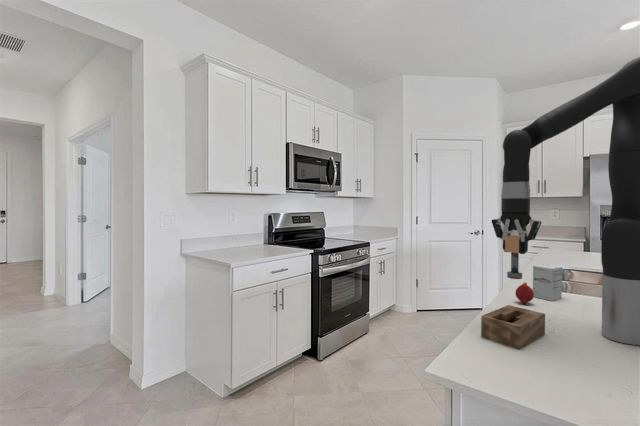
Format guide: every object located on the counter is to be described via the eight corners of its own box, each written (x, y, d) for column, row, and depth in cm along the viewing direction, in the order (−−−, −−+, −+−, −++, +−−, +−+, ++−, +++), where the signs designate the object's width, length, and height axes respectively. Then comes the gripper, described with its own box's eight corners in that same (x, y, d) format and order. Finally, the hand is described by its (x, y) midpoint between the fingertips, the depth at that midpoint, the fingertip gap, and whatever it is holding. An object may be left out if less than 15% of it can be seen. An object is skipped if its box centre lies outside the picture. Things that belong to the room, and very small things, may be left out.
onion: (532, 307, 118) (533, 285, 118) (514, 304, 121) (514, 282, 121) (534, 303, 122) (534, 281, 122) (516, 300, 126) (516, 279, 126)
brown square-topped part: (524, 277, 101) (525, 235, 100) (518, 279, 99) (519, 236, 98) (511, 275, 104) (511, 234, 104) (504, 277, 102) (505, 235, 101)
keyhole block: (544, 334, 94) (545, 313, 93) (519, 349, 84) (519, 326, 84) (508, 324, 102) (508, 305, 102) (481, 336, 92) (481, 315, 92)
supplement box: (531, 296, 130) (532, 265, 130) (542, 294, 134) (542, 263, 134) (552, 301, 124) (552, 268, 124) (562, 298, 127) (562, 266, 127)
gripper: (547, 196, 97) (546, 254, 97) (498, 197, 108) (497, 249, 109) (535, 196, 92) (534, 257, 93) (486, 197, 104) (485, 251, 105)
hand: (514, 252), depth 101 cm, fingers closed on brown square-topped part, 4 cm apart
